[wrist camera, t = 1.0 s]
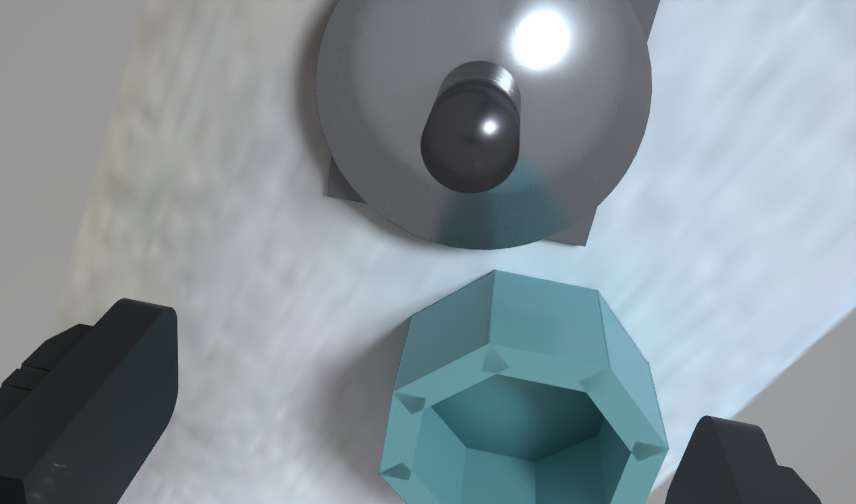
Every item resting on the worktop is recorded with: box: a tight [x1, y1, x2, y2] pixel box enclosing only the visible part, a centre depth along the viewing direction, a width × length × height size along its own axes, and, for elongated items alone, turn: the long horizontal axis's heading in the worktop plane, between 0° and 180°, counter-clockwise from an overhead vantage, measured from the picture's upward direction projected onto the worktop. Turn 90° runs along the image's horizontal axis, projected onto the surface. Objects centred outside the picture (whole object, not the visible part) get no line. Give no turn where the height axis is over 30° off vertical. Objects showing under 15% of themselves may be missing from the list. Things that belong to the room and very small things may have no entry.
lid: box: [316, 0, 652, 250], centre depth 23 cm, size 11×11×5 cm
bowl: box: [379, 270, 669, 504], centre depth 29 cm, size 10×10×5 cm
